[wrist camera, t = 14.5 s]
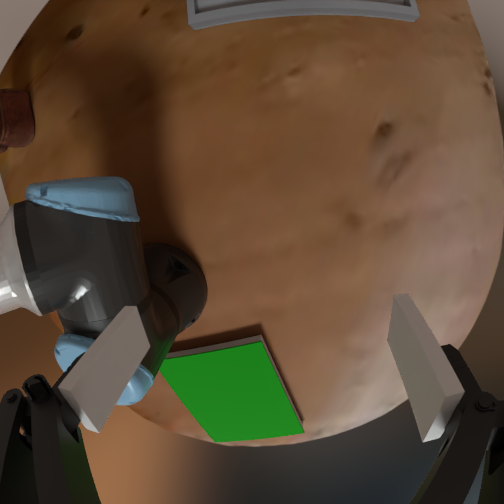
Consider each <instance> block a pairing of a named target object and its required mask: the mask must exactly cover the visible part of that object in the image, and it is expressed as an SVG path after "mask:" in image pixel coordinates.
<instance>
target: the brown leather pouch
mask: <svg viewBox="0 0 504 504" xmlns="http://www.w3.org/2000/svg"><path fill="white" fill-rule="evenodd" d="M34 128H35V124H34V119H33V115H32V110H31V104H30V99H29V94H28V93H27V92H25V91H21V90H18V89H0V153H3V152H5V151H6V150H7V148H8V147H13V148H17V147H24V146H26V145H28V144H29V143H30V142H31V141H32V140H33V138H34Z"/></svg>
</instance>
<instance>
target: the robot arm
mask: <svg viewBox="0 0 504 504" xmlns="http://www.w3.org/2000/svg"><path fill="white" fill-rule="evenodd" d="M25 198H26V199H27V200H25V201H22V202H19V203H16V204H13V205H11V207H10V208H9V210H8V212H7V214H6V216H5V218H4V220H3V221H2V222H1V224H0V314H2V313H5V312H8V311H11V310H13V309H16V308H19V307H24V308H27V309H29V310H30V311H32V312H34V313H35V314H37V315H39V316H42V315H45V314H47V313H50V312H53V311H56V310H57V313H58V315H59V318H60V321H61V323H62V326H63V329H64V335H61V336H60V337H59V338H58V340H57V343H56V347H55V349H54V351H55V357H56V359H57V362H58V364H59V365H60V367H61V368H62V370H63V371H64V373H63V375H62V376H61V377H60V378H59V379H58V381H57V382H56V383H55V384H54V386H53V387H52V388H51V386H50V385H49V383H48V382H47V380H46V378H45V377H44V376H43V375H40V374H38V375H33V376H31V377H29V378H28V379H27V380H26V381H25V382H24V383H23V386H22V388H23V390H24V391H25V393H26V394H27V396H28V397H25V396H24V395H23V394H22V392H21V391H20V390H19V389H11V390H9V391H7V392H6V394H5V395H4V396H3V398H2V400H1V403H0V504H101V502H100V499H99V496H98V493H97V490H96V487H95V484H94V480H93V477H92V474H91V471H90V467H89V463H88V459H87V455H86V451H85V447H84V443H83V439H82V434H81V430H80V428H79V427H78V425H79V423H80V421H81V422H82V423H83V425H84V426H85V427H86V429H88V430H91V431H94V432H97V433H99V432H100V431H101V429H102V427H103V426H104V424H105V422H106V420H107V419H108V417H109V415H110V413H111V412H112V410H113V408H114V407H115V405H116V404H117V405H131V404H134V403H136V402H137V401H140V400H141V399H142V398H143V397H144V395H145V394H146V392H147V391H148V390H149V388H150V387H151V386H152V385H153V383H154V378H155V376H156V374H157V373H158V371H159V369H160V367H161V365H162V363H163V361H164V359H165V357H166V355H167V353H168V351H169V349H170V347H171V346H172V344H173V342H174V340H175V338H176V336H177V335H178V334H179V333H180V332H182V331H183V330H185V329H186V328H187V327H189V326H191V325H192V324H193V323H194V322H195V321H196V320H197V319H198V318H199V316H200V315H201V313H202V311H203V309H204V307H205V304H206V301H207V285H206V281H205V278H204V275H203V273H202V271H201V270H200V268H199V267H198V265H197V264H196V263H195V262H194V261H193V260H192V259H191V258H190V257H189V256H188V255H187V254H186V253H184V252H183V251H181V250H179V249H177V248H175V247H173V246H170V245H166V244H158V243H156V244H148V245H145V246H142V240H141V233H140V226H139V221H140V216H139V215H138V213H137V208H136V203H135V198H134V193H133V188H132V186H131V184H130V183H129V182H128V181H127V180H126V179H124V178H121V177H115V176H105V177H86V178H72V179H62V180H54V181H48V182H41V183H34V184H30V185H28V187H27V188H26V193H25ZM387 341H388V343H389V346H390V348H391V351H392V353H393V356H394V359H395V361H396V364H397V366H398V369H399V372H400V375H401V377H402V380H403V383H404V386H405V389H406V392H407V394H408V397H409V400H410V403H411V406H412V409H413V413H414V415H415V419H416V422H417V425H418V428H419V432H420V435H421V439H422V442H426V441H430V440H433V439H437V438H440V437H441V435H442V433H443V432H444V430H445V431H446V434H447V436H448V437H447V439H446V440H445V442H444V443H443V445H442V447H441V448H440V449H439V451H440V452H439V454H438V456H437V458H436V460H435V462H434V464H433V465H432V467H431V469H430V471H429V473H428V474H427V476H426V478H425V480H424V481H423V483H422V484H421V486H420V488H419V489H418V491H417V493H416V494H415V496H414V497H413V499H412V500H411V502H410V503H409V504H463V502H464V500H465V498H466V496H467V494H468V492H469V490H470V488H471V486H472V483H473V481H474V479H475V476H476V474H477V472H478V469H479V467H480V464H481V461H482V459H483V456H484V453H485V451H486V457H485V464H484V471H483V478H482V484H481V489H480V494H479V499H478V504H504V401H498V400H497V399H496V398H495V397H494V396H493V395H492V394H490V393H488V392H482V390H481V389H480V387H479V385H478V383H477V381H476V380H475V378H474V376H473V374H472V373H471V371H470V369H469V368H468V367H467V364H466V362H465V361H464V360H463V357H462V356H461V354H460V352H459V351H458V350H457V349H456V348H454V347H453V346H452V345H450V344H448V345H443V346H440V345H439V343H438V341H437V340H436V338H435V336H434V334H433V333H432V331H431V329H430V328H429V326H428V324H427V323H426V321H425V320H424V318H423V316H422V315H421V313H420V312H419V310H418V308H417V307H416V305H415V304H414V302H413V301H412V299H411V297H410V296H409V294H399V295H394V298H393V306H392V314H391V321H390V327H389V333H388V339H387ZM20 427H21V428H22V430H23V431H24V433H23V435H21V434H20V432H19V430H20Z"/></svg>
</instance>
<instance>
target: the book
mask: <svg viewBox="0 0 504 504" xmlns="http://www.w3.org/2000/svg"><path fill="white" fill-rule="evenodd" d="M159 371H160V372H161V374H162V375H163V377H164V378H165V379H166V381H167V382H168V384H169V385H170V386H171V388H172V389H173V390H174V392H175V393H176V394H177V396H178V397H179V398H180V400H181V401H182V402H183V404H184V405H185V406H186V408H187V409H188V410H189V411H190V413H191V414H192V415H193V416H194V418H195V419H196V420H197V421H198V423H199V424H200V425H201V426H202V428H203V429H204V430H205V431H206V432H207V434H208V435H209V436H210V437H211V438H212V439H213V441H214V442H228V441H243V440H254V439H264V438H273V437H280V436H288V435H294V434H301V433H304V430H303V424H302V422H301V419H300V417H299V415H298V413H297V411H296V409H295V407H294V405H293V402H292V400H291V398H290V396H289V394H288V392H287V390H286V387H285V385H284V383H283V381H282V379H281V377H280V374H279V372H278V370H277V368H276V366H275V364H274V361H273V359H272V357H271V355H270V353H269V350H268V348H267V346H266V344H265V342H264V339H263V337H262V335H258V336H253V337H249V338H244V339H240V340H235V341H230V342H226V343H221V344H216V345H211V346H205V347H200V348H195V349H189V350H184V351H178V352H172V353H167V355H166V357H165V359H164V361H163V363H162V365H161V367H160V369H159Z"/></svg>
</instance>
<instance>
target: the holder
mask: <svg viewBox="0 0 504 504" xmlns="http://www.w3.org/2000/svg"><path fill="white" fill-rule="evenodd" d="M187 11H188V23H189V25H190V26H191V27H192V28H193V29H194V30H198V29H202V28H207V27H211V26H216V25H222V24H227V23H233V22H239V21H246V20H254V19H262V18H271V17H283V16H299V15H353V16H368V17H380V18H389V19H397V20H404V21H411V22H414V21H415V20H416V19H418V18H419V17H420V15H419V11H418V8H417V5H416V1H415V0H187Z"/></svg>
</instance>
